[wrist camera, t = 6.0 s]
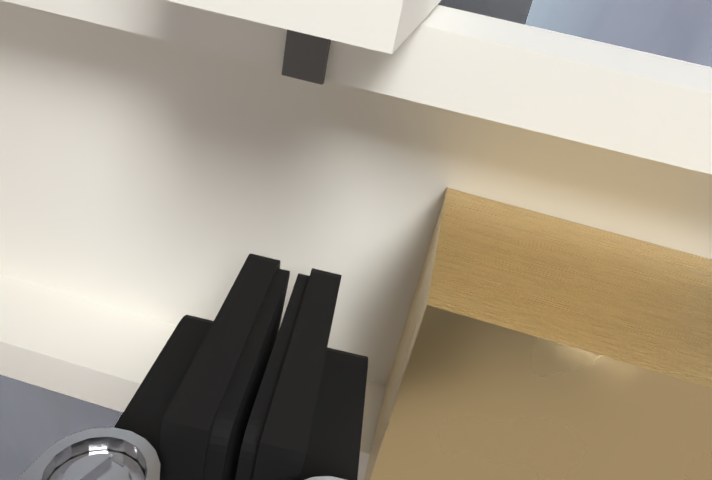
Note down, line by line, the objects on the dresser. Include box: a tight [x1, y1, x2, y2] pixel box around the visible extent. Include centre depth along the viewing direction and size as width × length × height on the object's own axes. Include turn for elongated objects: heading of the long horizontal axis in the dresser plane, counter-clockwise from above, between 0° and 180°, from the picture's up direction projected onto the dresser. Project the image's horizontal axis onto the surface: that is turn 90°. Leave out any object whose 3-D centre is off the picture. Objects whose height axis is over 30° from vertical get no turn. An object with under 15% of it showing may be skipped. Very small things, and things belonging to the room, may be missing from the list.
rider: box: [364, 188, 712, 480], centre depth 10 cm, size 5×5×4 cm
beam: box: [0, 0, 712, 480], centre depth 11 cm, size 13×26×9 cm, turn 79°
